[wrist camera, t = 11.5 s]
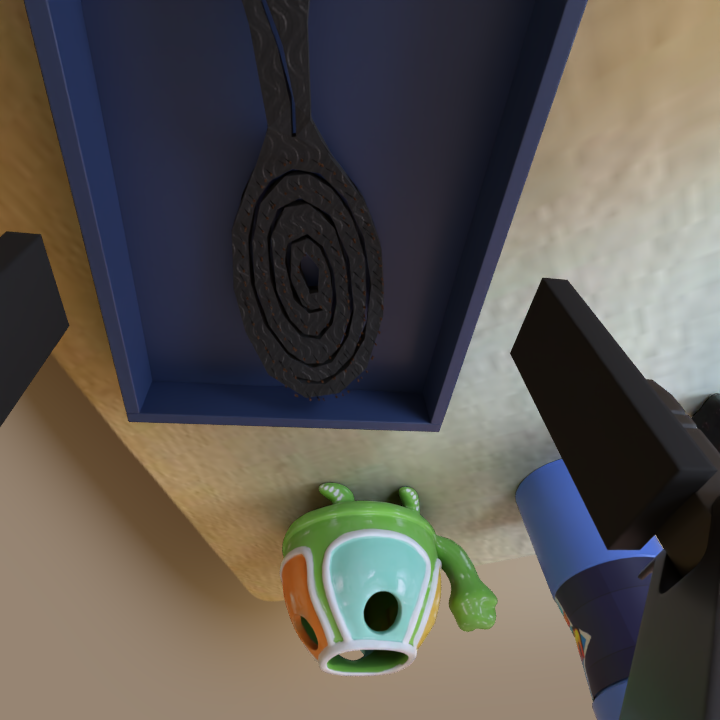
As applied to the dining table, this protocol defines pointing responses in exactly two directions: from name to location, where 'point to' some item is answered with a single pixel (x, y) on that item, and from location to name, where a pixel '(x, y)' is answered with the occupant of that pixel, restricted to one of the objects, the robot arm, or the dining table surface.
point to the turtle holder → (374, 582)
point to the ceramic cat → (710, 420)
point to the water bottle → (587, 581)
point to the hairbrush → (302, 229)
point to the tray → (240, 154)
